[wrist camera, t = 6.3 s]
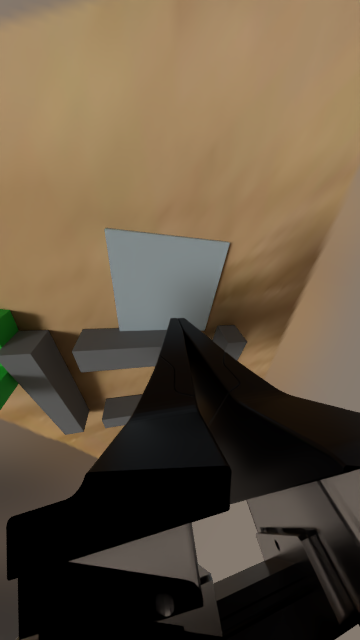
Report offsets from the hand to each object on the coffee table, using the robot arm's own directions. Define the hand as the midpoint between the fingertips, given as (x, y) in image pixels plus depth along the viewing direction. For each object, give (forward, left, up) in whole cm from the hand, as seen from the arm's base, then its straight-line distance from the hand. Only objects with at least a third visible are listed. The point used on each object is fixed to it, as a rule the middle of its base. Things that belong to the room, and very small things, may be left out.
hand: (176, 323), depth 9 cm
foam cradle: (-11, +2, -4) cm, 12 cm away
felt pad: (0, 0, -4) cm, 4 cm away
